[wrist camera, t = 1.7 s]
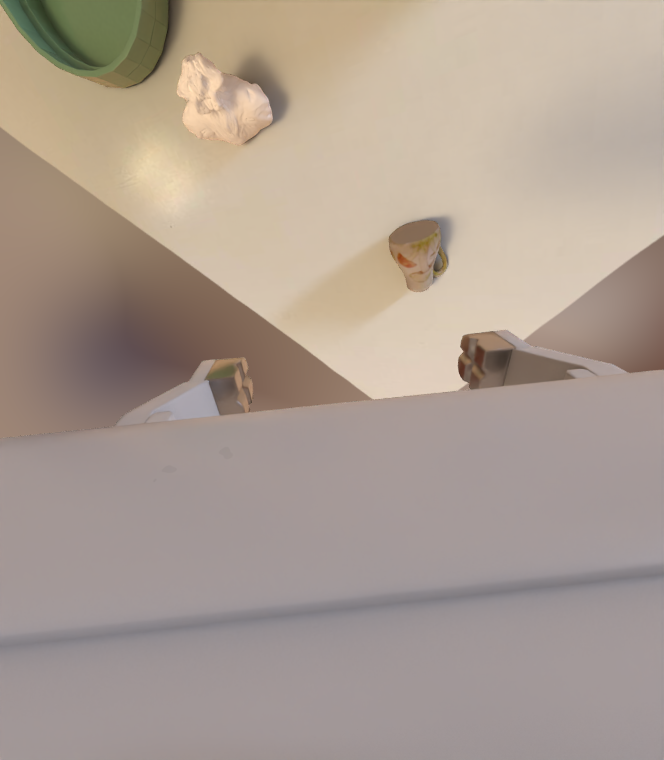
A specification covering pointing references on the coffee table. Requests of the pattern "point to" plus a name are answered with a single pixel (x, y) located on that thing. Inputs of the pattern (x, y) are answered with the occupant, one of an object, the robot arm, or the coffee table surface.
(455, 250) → the coffee table surface
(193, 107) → the bust
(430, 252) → the mug
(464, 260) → the coffee table surface
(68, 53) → the bowl
